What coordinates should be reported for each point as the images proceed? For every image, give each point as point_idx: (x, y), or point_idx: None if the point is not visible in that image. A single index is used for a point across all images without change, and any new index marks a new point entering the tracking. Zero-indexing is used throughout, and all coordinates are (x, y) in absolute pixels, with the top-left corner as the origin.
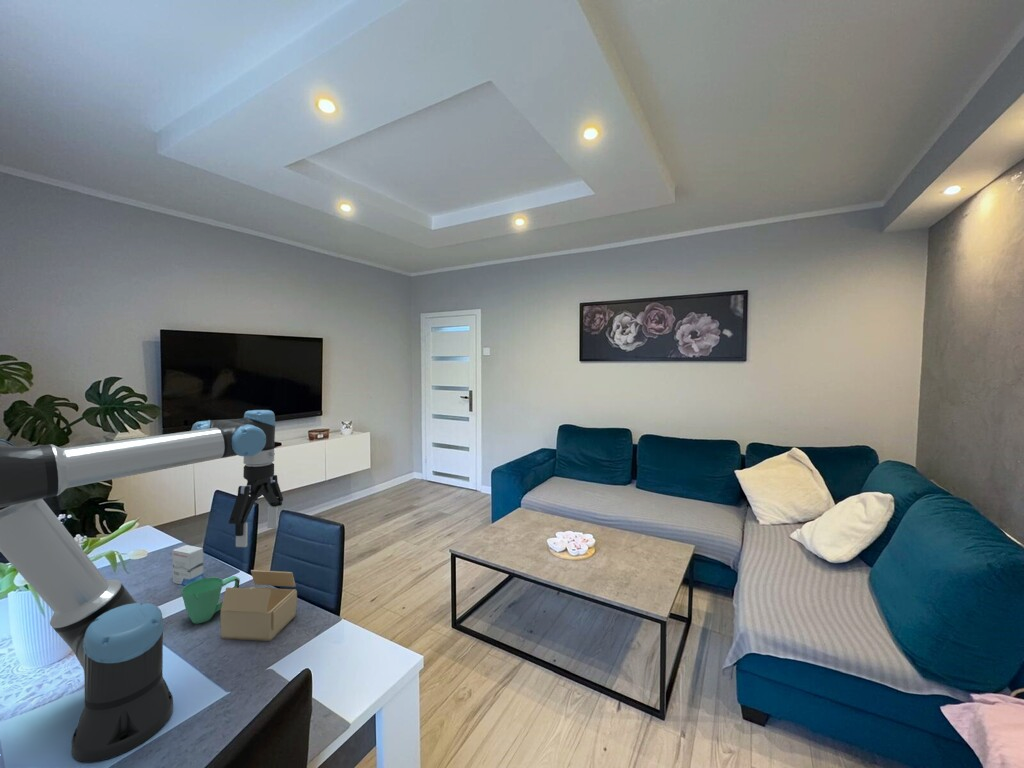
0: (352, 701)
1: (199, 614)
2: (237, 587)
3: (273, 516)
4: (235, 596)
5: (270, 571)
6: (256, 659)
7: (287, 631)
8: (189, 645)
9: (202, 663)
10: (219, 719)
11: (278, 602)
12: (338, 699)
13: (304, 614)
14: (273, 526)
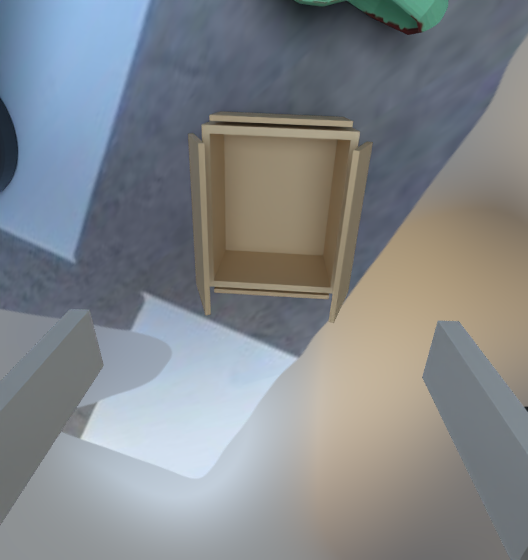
0: (111, 433)
1: None
2: (410, 29)
3: (468, 441)
4: (196, 187)
5: (343, 242)
6: (162, 258)
7: None
8: (179, 39)
9: (126, 142)
10: (22, 283)
11: (331, 226)
12: (109, 418)
13: None
14: (432, 370)
